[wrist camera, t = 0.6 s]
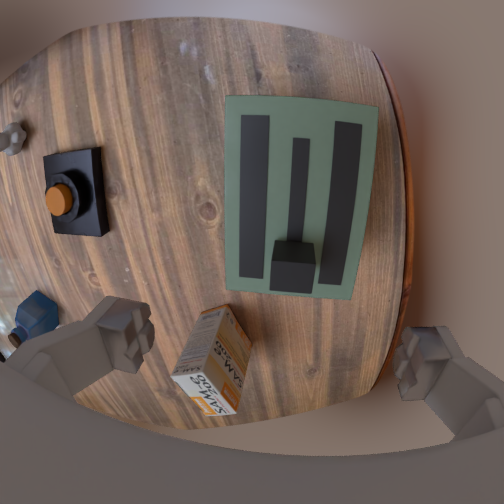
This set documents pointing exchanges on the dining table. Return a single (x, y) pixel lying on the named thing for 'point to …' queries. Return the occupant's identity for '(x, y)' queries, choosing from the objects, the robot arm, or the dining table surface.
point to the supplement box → (214, 362)
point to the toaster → (297, 187)
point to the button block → (79, 191)
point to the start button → (59, 199)
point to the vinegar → (2, 358)
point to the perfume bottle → (34, 318)
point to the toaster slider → (292, 267)
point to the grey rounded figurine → (12, 139)
